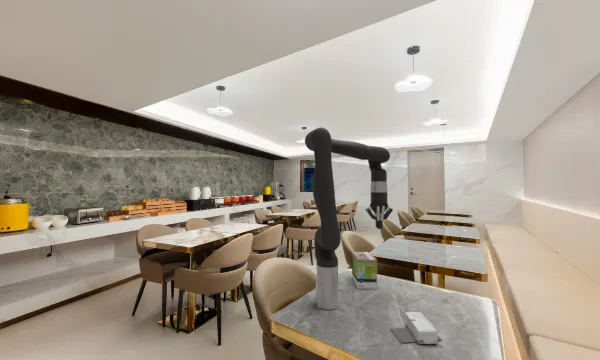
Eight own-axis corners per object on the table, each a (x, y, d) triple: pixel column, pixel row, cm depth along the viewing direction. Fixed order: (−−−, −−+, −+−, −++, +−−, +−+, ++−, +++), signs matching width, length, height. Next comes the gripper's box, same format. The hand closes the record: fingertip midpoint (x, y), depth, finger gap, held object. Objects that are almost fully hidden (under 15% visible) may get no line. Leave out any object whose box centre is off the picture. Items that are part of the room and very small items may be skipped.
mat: (401, 343, 83) (401, 342, 83) (390, 329, 91) (390, 328, 91) (441, 340, 84) (441, 339, 84) (427, 327, 92) (427, 326, 92)
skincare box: (420, 311, 94) (438, 329, 82) (421, 324, 94) (438, 344, 82) (404, 312, 94) (418, 330, 82) (404, 324, 94) (419, 344, 82)
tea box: (377, 289, 126) (377, 259, 126) (357, 289, 126) (356, 259, 126) (369, 278, 141) (369, 251, 141) (351, 278, 141) (351, 251, 141)
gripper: (368, 191, 115) (368, 230, 115) (396, 191, 116) (396, 229, 116) (362, 191, 122) (362, 227, 122) (388, 191, 124) (389, 227, 123)
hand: (379, 228), depth 119 cm, fingers closed
